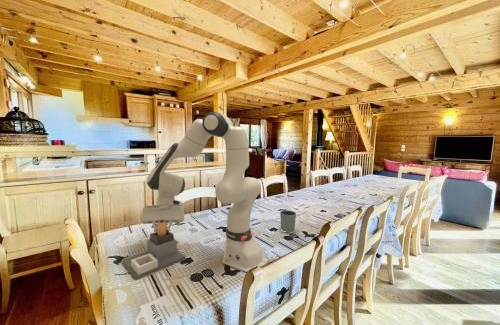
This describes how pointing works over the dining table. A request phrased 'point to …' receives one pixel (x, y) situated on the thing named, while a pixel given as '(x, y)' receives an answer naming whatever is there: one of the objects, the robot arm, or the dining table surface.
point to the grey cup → (288, 220)
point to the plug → (161, 228)
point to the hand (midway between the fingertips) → (161, 230)
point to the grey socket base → (154, 256)
